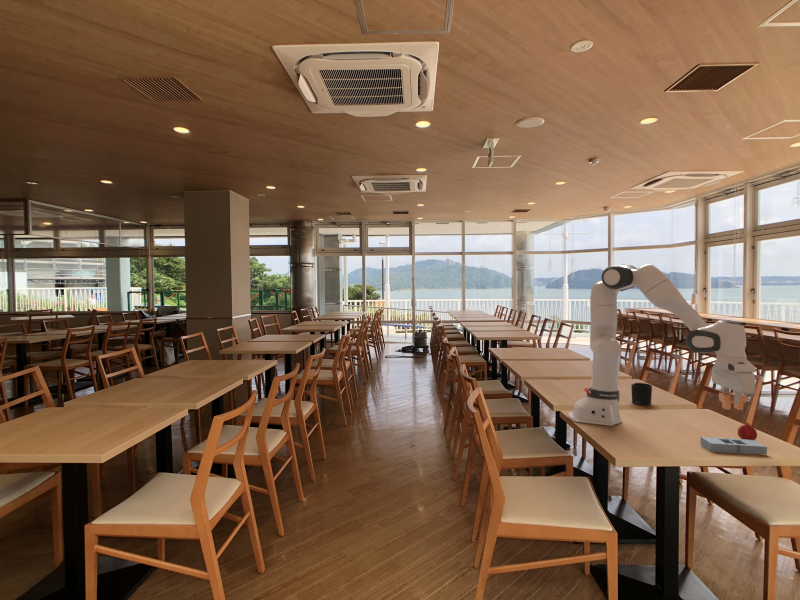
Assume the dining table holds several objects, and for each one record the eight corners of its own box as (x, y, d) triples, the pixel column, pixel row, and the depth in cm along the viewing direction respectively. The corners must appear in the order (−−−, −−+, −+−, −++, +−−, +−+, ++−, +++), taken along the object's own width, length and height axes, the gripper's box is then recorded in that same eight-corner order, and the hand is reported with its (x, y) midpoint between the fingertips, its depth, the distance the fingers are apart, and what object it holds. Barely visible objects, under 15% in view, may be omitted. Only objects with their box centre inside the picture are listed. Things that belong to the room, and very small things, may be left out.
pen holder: (627, 401, 222) (627, 382, 222) (645, 401, 222) (645, 382, 222) (637, 405, 213) (637, 386, 212) (655, 405, 212) (656, 386, 212)
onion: (737, 439, 164) (737, 419, 164) (756, 442, 160) (756, 422, 160) (737, 443, 159) (737, 422, 159) (757, 446, 156) (757, 425, 156)
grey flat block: (710, 451, 151) (710, 443, 151) (700, 444, 158) (700, 436, 158) (766, 455, 148) (766, 446, 148) (753, 447, 155) (753, 440, 155)
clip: (724, 409, 152) (724, 394, 152) (719, 407, 156) (718, 392, 156) (746, 410, 151) (745, 395, 151) (740, 407, 154) (739, 392, 154)
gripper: (706, 359, 164) (707, 393, 164) (738, 368, 144) (739, 407, 144) (724, 359, 163) (724, 394, 163) (759, 368, 143) (760, 408, 143)
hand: (732, 400), depth 153 cm, fingers closed on clip, 3 cm apart
